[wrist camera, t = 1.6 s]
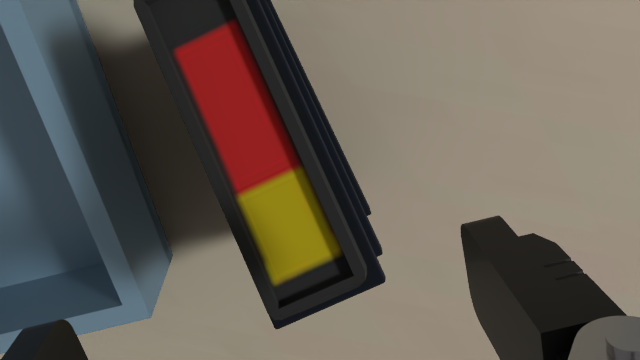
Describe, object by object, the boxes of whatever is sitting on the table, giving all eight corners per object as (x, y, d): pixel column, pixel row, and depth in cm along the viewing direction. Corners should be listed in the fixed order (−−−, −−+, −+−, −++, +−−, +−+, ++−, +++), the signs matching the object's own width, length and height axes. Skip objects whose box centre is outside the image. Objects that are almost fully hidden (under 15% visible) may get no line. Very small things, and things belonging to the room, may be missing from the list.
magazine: (325, 272, 31) (267, 340, 16) (230, 58, 32) (93, -59, 18) (388, 244, 31) (386, 288, 16) (289, 29, 32) (201, -117, 17)
